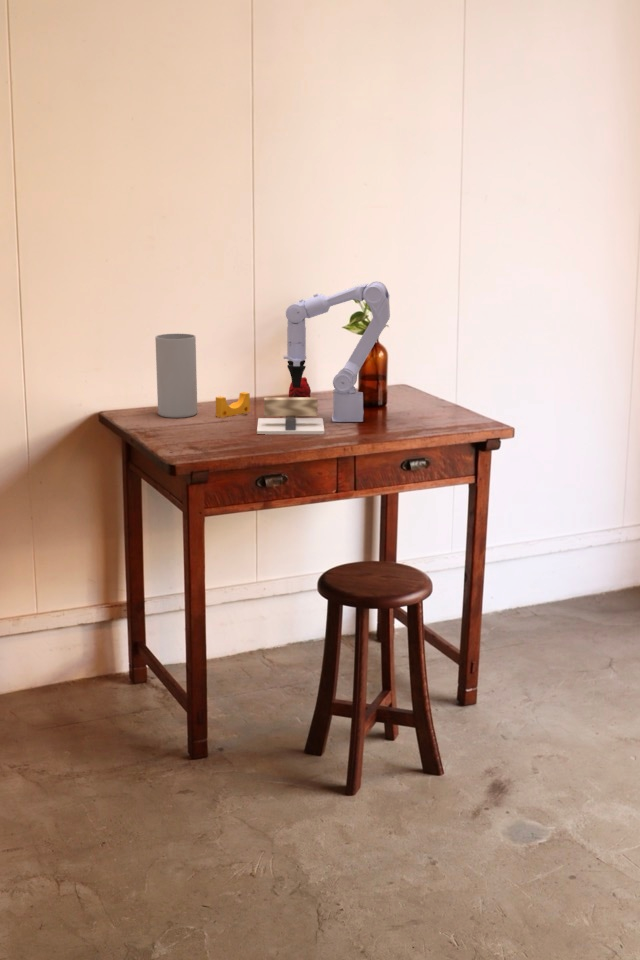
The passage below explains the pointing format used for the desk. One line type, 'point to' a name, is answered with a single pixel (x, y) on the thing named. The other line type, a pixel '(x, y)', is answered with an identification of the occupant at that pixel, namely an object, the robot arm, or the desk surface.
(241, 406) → the pipe clamp
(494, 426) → the desk surface
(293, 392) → the red clay folk toy
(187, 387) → the cylinder vase
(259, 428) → the stand
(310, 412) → the oak bar
